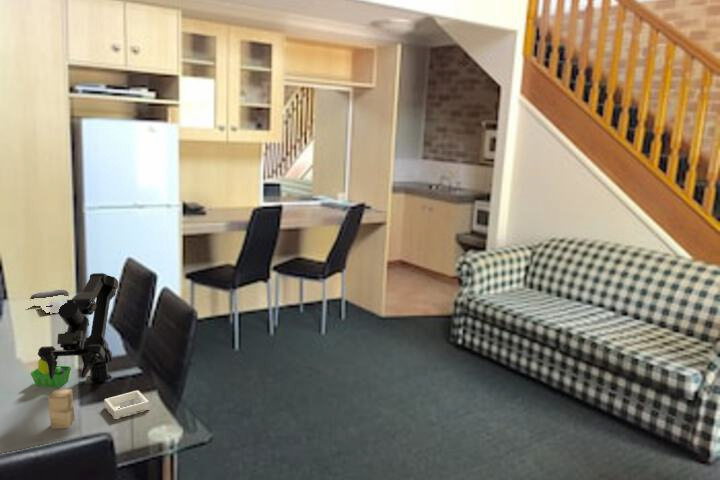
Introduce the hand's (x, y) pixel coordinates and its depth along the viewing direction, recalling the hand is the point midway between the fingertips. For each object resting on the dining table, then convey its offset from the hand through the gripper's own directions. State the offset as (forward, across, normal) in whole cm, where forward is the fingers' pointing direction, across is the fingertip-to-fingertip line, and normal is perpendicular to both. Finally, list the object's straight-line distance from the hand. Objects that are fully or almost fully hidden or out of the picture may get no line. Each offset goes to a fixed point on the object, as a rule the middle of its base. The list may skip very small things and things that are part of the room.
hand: (66, 378), depth 182 cm
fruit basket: (-9, -15, +26) cm, 32 cm away
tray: (+7, +17, +10) cm, 21 cm away
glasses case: (-83, -56, +100) cm, 141 cm away
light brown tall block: (+13, 0, +4) cm, 13 cm away
